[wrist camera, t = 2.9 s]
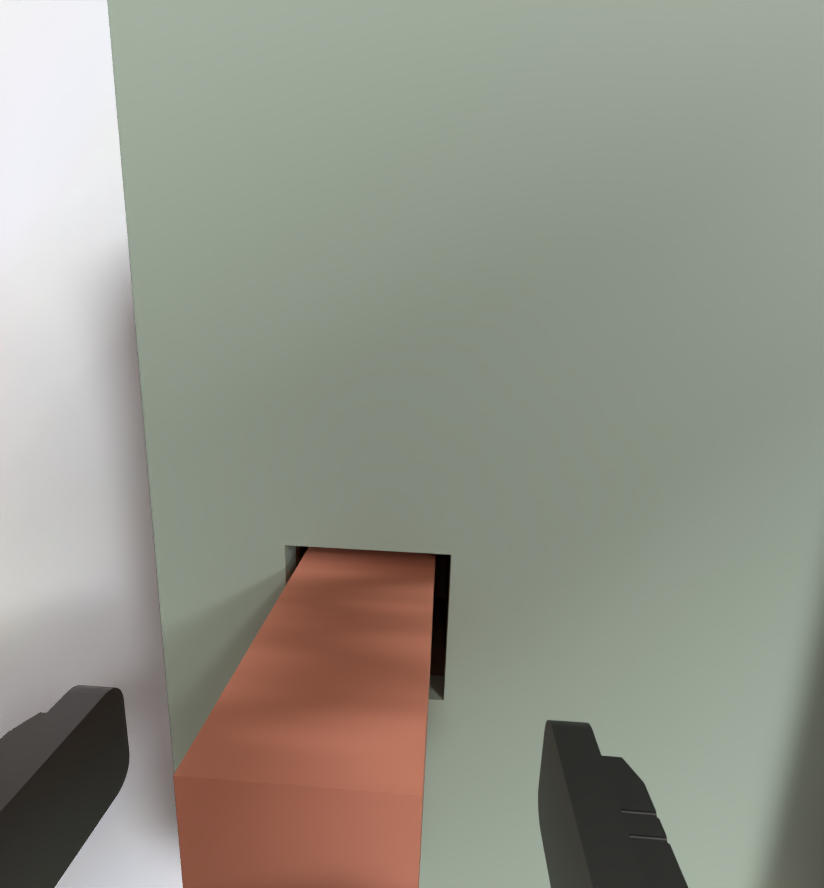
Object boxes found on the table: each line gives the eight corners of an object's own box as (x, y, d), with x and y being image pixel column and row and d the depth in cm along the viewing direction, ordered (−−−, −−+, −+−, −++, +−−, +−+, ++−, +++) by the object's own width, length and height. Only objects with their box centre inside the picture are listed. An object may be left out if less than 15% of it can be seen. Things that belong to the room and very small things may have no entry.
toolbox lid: (1148, 23, 11) (1527, -132, 7) (844, 1027, 18) (955, 1228, 14) (133, 20, 12) (-13, -114, 8) (206, 963, 19) (144, 1131, 15)
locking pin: (438, 497, 19) (421, 796, 7) (434, 587, 20) (414, 983, 8) (340, 492, 19) (173, 774, 8) (340, 581, 20) (188, 961, 8)
